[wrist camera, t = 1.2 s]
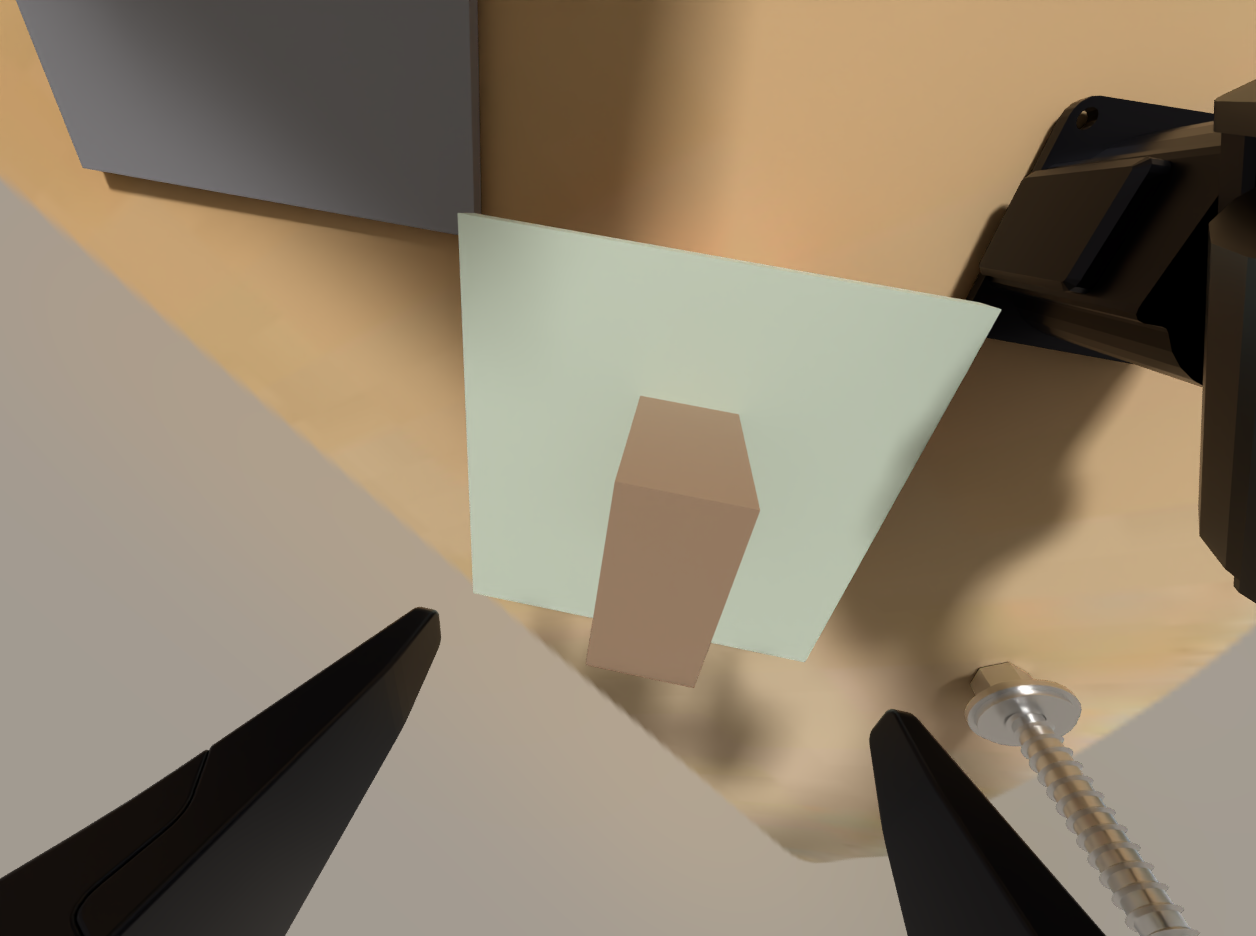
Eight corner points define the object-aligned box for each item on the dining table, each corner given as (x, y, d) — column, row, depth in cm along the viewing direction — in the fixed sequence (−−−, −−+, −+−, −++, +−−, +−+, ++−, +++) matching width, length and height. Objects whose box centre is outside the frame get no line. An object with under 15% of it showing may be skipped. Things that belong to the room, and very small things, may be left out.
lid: (979, 302, 12) (1198, 369, 7) (799, 642, 19) (839, 801, 14) (474, 212, 12) (316, 211, 7) (483, 576, 20) (406, 706, 14)
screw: (991, 716, 26) (927, 681, 25) (1073, 674, 23) (1005, 634, 22) (1224, 1108, 14) (1119, 1064, 14) (1428, 1103, 12) (1315, 1051, 11)
